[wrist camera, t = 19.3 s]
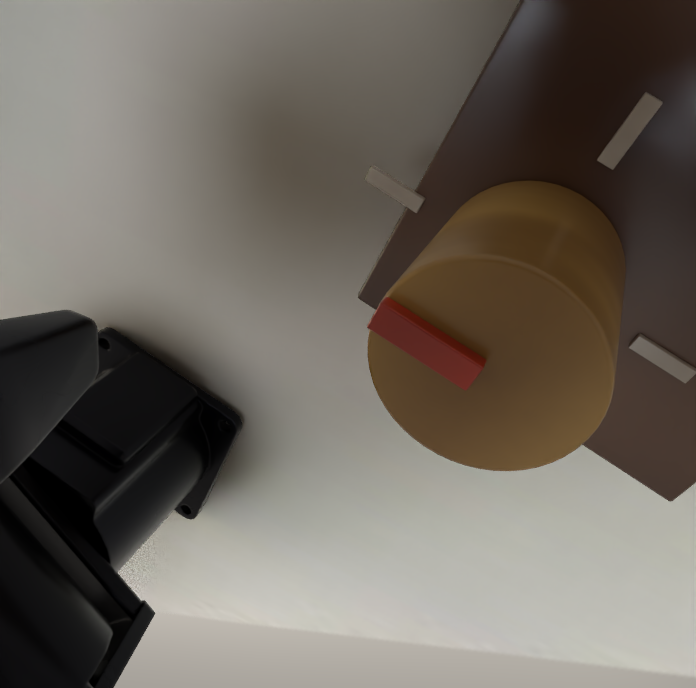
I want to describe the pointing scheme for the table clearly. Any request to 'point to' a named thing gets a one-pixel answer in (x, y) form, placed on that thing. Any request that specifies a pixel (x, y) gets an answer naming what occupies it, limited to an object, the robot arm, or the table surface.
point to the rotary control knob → (505, 329)
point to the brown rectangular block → (592, 192)
